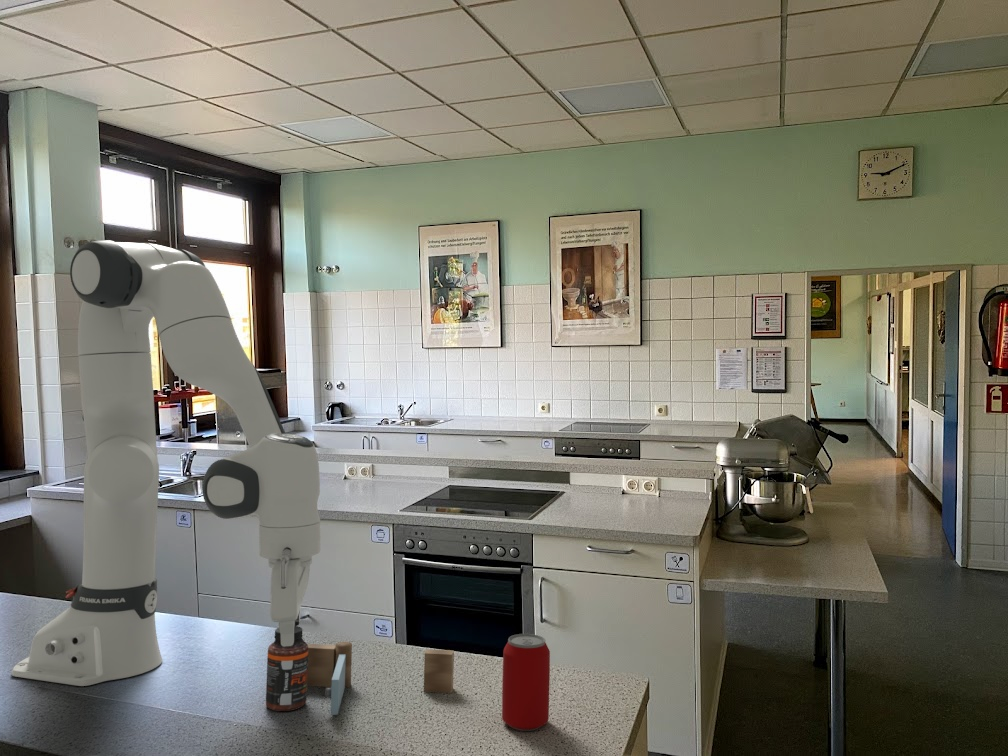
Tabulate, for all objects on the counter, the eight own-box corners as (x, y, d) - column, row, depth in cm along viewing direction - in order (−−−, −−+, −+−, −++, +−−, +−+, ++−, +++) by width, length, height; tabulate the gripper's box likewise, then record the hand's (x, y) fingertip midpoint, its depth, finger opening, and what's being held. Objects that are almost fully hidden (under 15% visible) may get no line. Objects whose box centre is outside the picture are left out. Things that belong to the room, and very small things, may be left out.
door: (332, 686, 122) (332, 654, 122) (344, 686, 122) (345, 654, 123) (323, 715, 111) (324, 679, 111) (337, 714, 111) (338, 679, 111)
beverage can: (546, 714, 114) (548, 632, 115) (550, 733, 107) (552, 647, 108) (500, 713, 114) (502, 632, 114) (502, 733, 107) (504, 646, 108)
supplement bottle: (295, 715, 112) (297, 636, 112) (257, 710, 113) (260, 633, 114) (313, 699, 118) (315, 625, 118) (277, 695, 119) (279, 622, 119)
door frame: (285, 685, 123) (287, 644, 124) (291, 679, 126) (292, 639, 126) (451, 693, 121) (451, 652, 122) (453, 687, 124) (454, 646, 124)
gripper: (306, 555, 106) (307, 656, 106) (316, 529, 126) (316, 613, 126) (258, 558, 105) (259, 659, 105) (276, 530, 125) (276, 616, 125)
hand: (290, 634), depth 116 cm, fingers open, 8 cm apart
